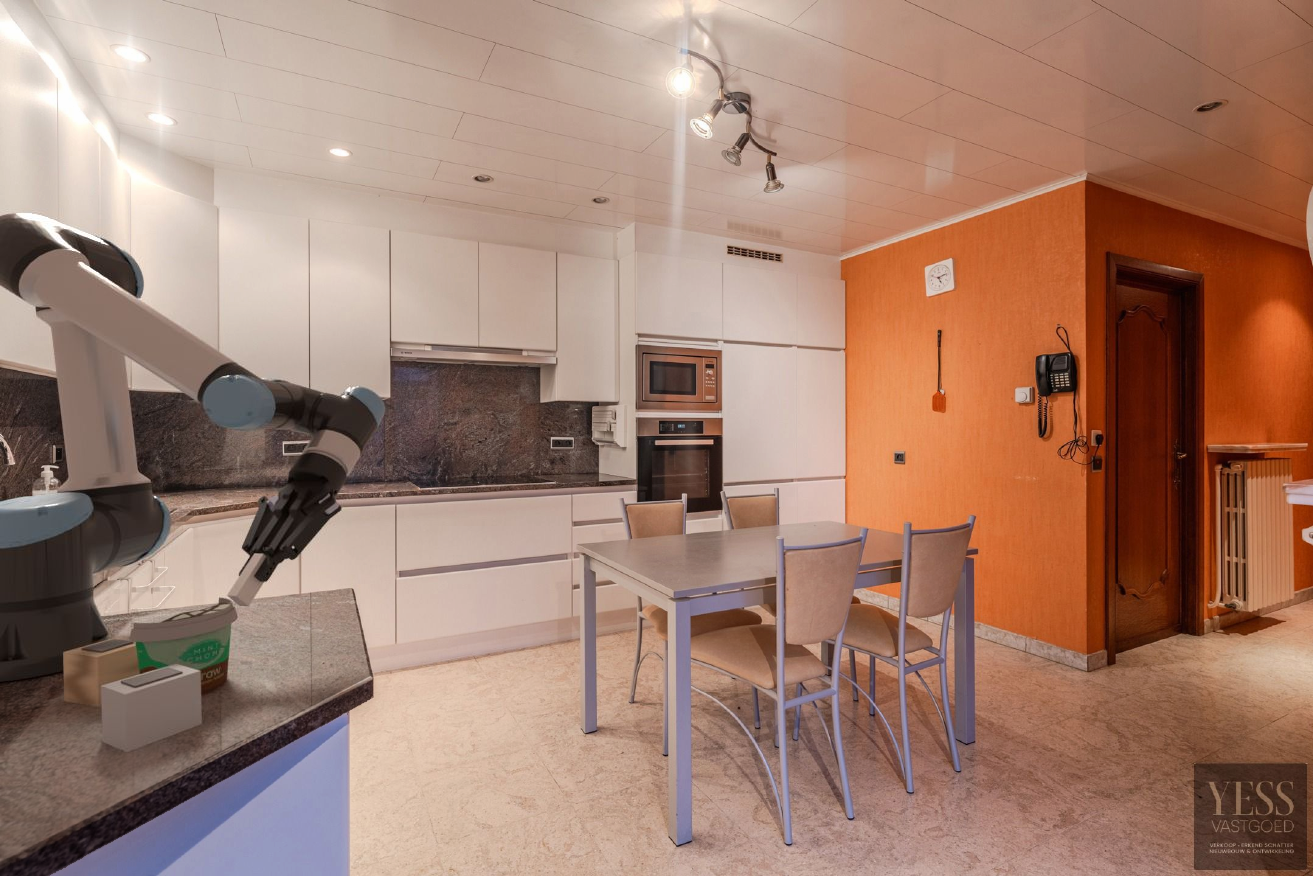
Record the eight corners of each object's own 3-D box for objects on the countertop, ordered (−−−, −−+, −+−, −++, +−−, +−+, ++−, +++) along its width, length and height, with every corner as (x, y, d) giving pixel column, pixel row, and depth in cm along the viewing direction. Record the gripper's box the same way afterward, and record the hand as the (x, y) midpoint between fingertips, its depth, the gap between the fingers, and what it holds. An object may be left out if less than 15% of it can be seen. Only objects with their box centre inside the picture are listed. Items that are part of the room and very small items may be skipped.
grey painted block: (102, 742, 67) (100, 683, 67) (177, 715, 74) (176, 661, 74) (126, 753, 65) (124, 692, 65) (201, 724, 71) (200, 669, 71)
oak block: (64, 701, 78) (63, 650, 78) (118, 682, 84) (117, 635, 84) (98, 707, 76) (97, 655, 76) (151, 687, 82) (150, 639, 82)
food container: (172, 714, 74) (170, 628, 74) (130, 708, 76) (128, 624, 75) (261, 673, 86) (260, 599, 86) (224, 669, 87) (223, 596, 87)
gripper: (372, 481, 102) (296, 617, 86) (301, 482, 105) (214, 613, 89) (348, 449, 97) (263, 587, 81) (274, 450, 99) (177, 584, 83)
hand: (237, 600), depth 85 cm, fingers closed
